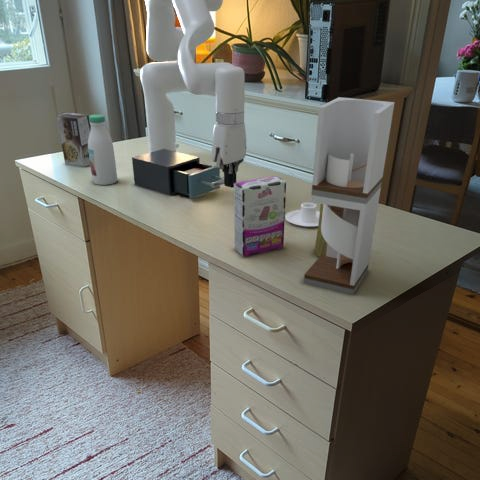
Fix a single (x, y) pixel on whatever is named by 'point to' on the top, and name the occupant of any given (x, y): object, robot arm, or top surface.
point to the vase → (320, 238)
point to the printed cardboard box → (74, 138)
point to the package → (192, 170)
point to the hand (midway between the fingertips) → (230, 186)
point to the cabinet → (158, 169)
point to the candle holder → (304, 215)
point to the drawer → (195, 179)
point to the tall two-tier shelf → (348, 187)
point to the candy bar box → (259, 215)
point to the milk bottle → (101, 152)
